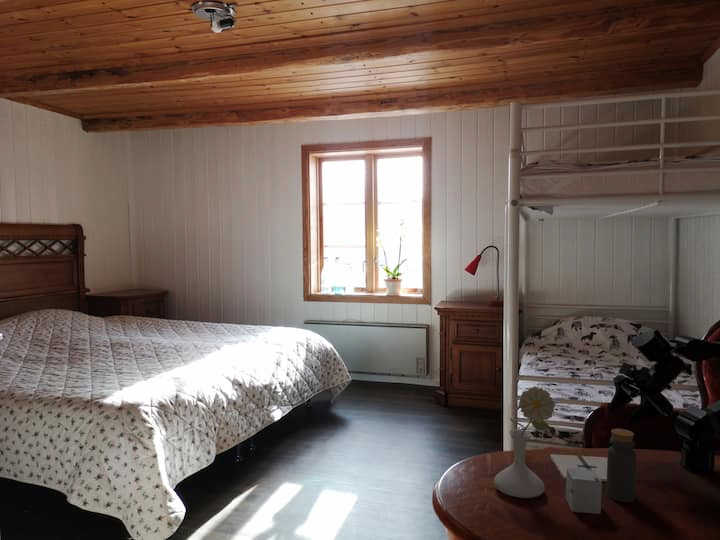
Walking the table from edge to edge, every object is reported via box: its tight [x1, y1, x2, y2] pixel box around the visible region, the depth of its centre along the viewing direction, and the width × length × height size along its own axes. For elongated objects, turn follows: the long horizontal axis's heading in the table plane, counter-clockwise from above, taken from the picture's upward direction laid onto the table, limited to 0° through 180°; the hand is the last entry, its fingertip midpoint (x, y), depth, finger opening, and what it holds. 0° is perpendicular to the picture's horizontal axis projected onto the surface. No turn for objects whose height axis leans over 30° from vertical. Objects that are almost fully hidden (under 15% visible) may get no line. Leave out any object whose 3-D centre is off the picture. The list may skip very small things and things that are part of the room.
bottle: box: [605, 428, 637, 503], centre depth 121 cm, size 6×6×15 cm
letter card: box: [549, 454, 608, 483], centre depth 136 cm, size 15×14×1 cm
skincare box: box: [565, 468, 603, 515], centre depth 116 cm, size 6×6×7 cm
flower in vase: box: [493, 386, 556, 499], centre depth 122 cm, size 13×11×25 cm
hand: (618, 416), depth 135 cm, fingers open, 9 cm apart
